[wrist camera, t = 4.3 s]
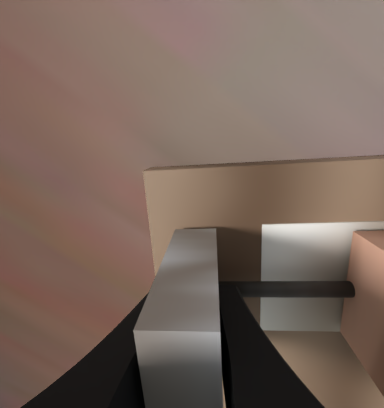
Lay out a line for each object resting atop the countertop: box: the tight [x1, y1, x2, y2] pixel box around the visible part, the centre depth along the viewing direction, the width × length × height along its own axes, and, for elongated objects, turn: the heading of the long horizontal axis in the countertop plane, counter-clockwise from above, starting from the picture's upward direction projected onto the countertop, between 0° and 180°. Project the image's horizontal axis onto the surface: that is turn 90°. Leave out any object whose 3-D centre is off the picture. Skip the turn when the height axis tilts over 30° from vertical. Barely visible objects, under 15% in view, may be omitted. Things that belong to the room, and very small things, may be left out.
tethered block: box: [133, 228, 384, 408], centre depth 7 cm, size 11×5×5 cm, turn 93°
